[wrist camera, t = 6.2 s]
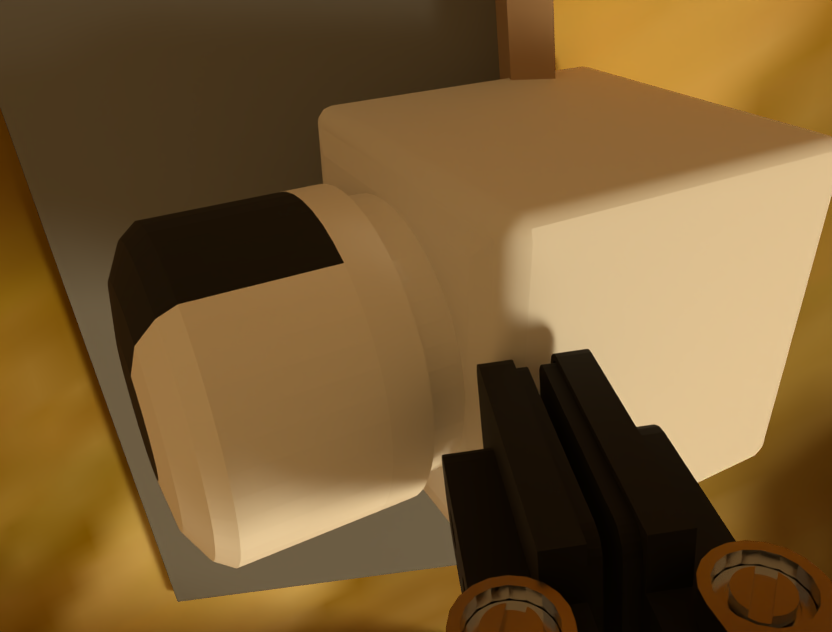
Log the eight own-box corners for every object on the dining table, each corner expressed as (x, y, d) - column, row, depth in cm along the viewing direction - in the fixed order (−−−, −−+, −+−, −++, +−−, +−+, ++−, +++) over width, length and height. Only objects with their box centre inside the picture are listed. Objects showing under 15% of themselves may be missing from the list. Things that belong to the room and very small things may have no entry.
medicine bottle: (561, 315, 22) (138, 451, 17) (585, 61, 18) (56, 142, 13) (766, 457, 16) (230, 717, 12) (856, 136, 13) (133, 317, 8)
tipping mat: (522, -363, 15) (544, -403, 13) (556, 542, 26) (571, 587, 24) (-129, -280, 15) (-196, -310, 13) (180, 592, 26) (166, 641, 24)
